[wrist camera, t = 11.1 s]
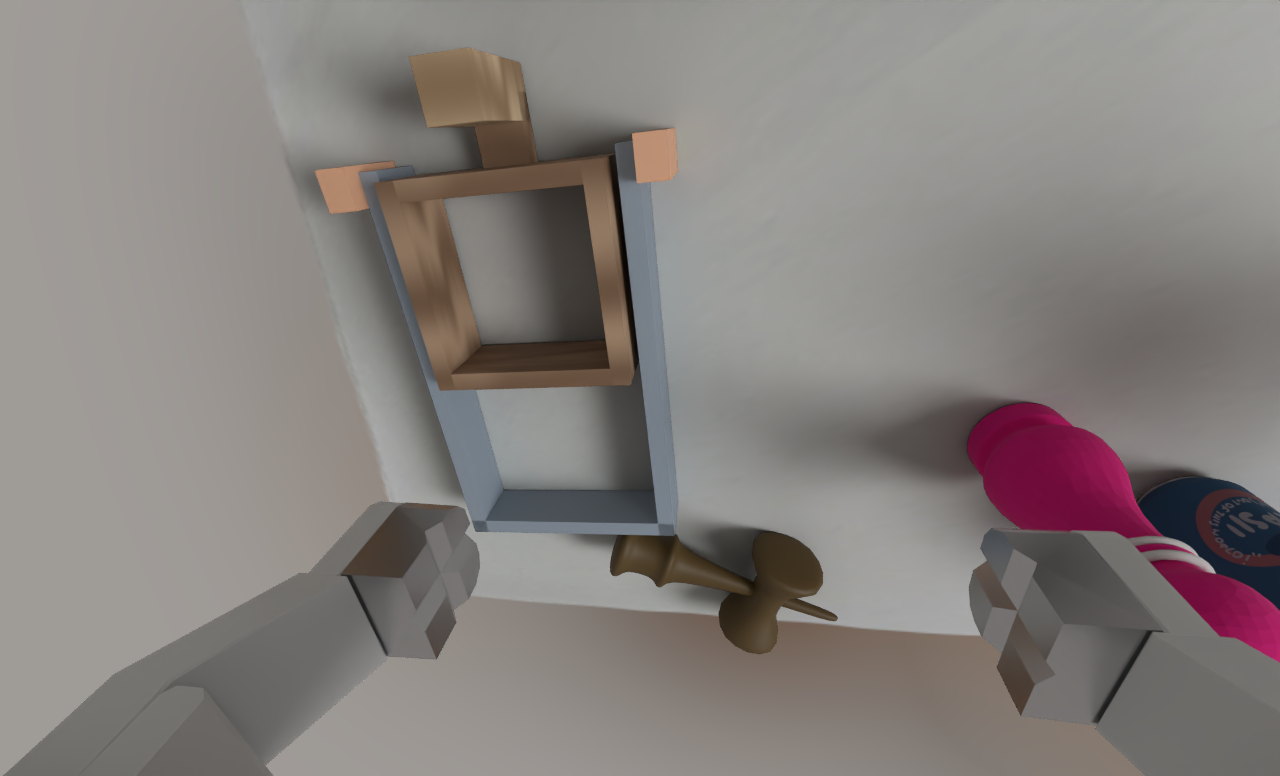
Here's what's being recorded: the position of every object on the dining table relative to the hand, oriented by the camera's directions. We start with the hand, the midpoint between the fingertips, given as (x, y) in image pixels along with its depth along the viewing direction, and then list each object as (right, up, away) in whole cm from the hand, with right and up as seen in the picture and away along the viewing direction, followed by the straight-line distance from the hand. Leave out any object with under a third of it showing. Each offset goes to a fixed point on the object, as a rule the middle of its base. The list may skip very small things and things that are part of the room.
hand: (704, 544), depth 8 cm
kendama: (+7, -13, +38) cm, 40 cm away
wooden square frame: (-9, +13, +26) cm, 30 cm away
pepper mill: (+26, -1, +28) cm, 38 cm away
